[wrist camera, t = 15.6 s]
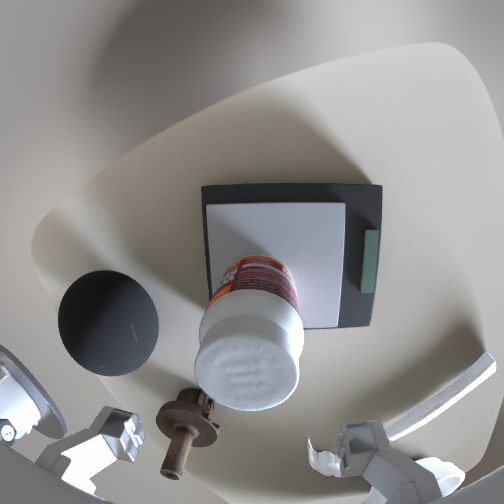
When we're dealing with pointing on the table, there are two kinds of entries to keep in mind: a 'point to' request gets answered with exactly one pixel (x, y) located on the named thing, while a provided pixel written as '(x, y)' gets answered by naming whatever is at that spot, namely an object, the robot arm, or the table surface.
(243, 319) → the pill bottle
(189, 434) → the industrial component
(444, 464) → the bowl
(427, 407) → the hammer
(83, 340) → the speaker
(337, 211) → the scale
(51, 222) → the table surface
